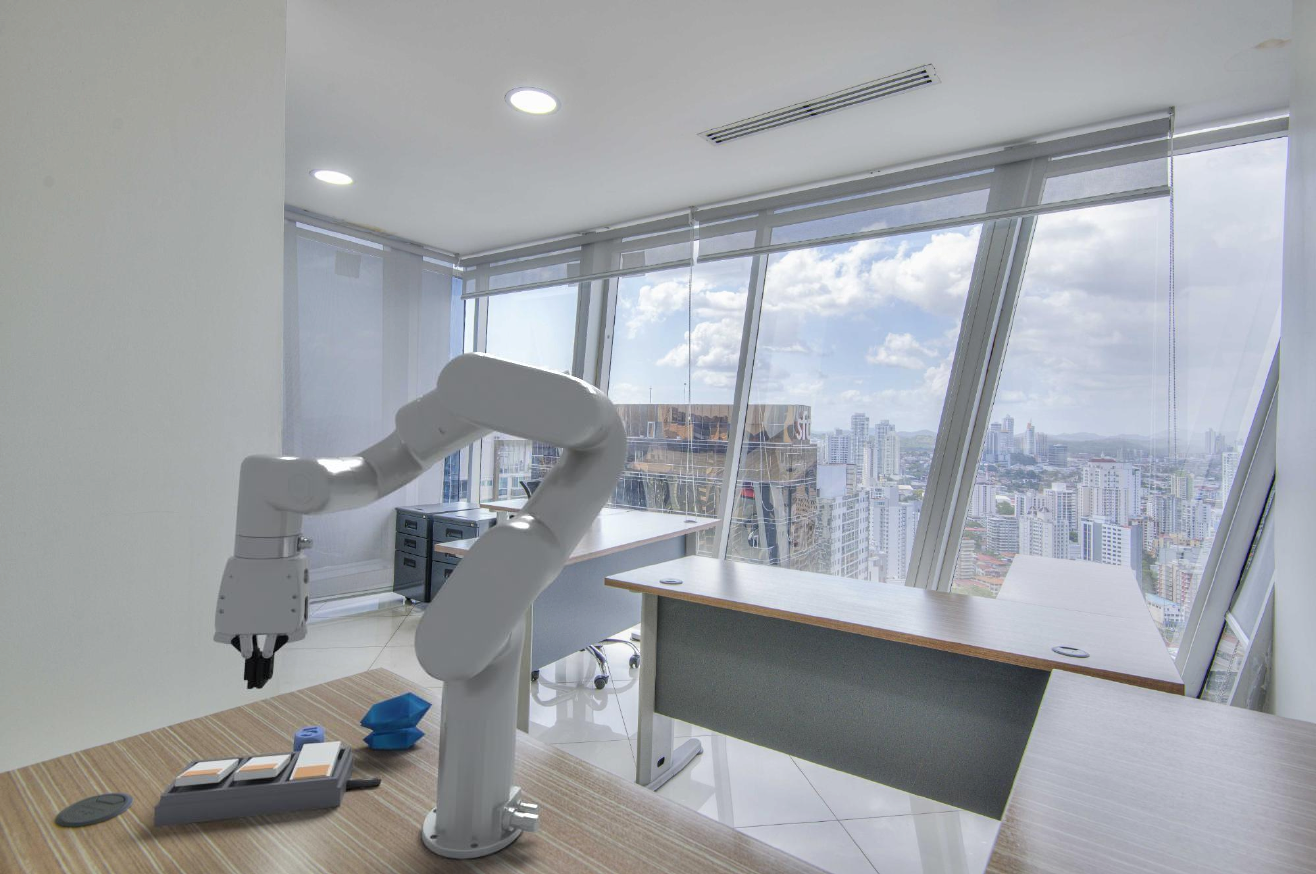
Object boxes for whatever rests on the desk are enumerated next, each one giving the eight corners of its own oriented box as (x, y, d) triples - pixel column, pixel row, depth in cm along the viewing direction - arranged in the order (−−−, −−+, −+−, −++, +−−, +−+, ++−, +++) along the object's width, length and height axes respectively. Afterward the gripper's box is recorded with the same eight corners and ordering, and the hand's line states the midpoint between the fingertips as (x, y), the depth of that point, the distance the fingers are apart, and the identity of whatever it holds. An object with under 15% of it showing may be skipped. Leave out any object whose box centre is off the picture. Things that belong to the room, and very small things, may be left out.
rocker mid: (289, 763, 88) (291, 753, 88) (275, 778, 81) (276, 767, 81) (251, 766, 86) (252, 756, 87) (233, 782, 80) (234, 771, 80)
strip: (385, 768, 92) (386, 743, 92) (376, 802, 84) (377, 774, 84) (186, 787, 85) (188, 760, 85) (153, 826, 76) (155, 796, 77)
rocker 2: (340, 748, 90) (340, 740, 89) (329, 783, 83) (329, 775, 83) (304, 751, 88) (303, 743, 88) (289, 787, 82) (289, 779, 82)
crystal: (360, 695, 102) (434, 677, 104) (370, 746, 102) (444, 727, 104) (345, 715, 94) (425, 695, 96) (356, 770, 94) (436, 749, 97)
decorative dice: (323, 749, 97) (324, 724, 97) (322, 761, 94) (324, 735, 94) (294, 754, 95) (295, 728, 95) (292, 766, 92) (293, 739, 92)
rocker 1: (237, 768, 86) (238, 757, 86) (218, 783, 79) (219, 772, 80) (197, 771, 85) (198, 761, 85) (174, 788, 78) (176, 776, 78)
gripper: (336, 543, 88) (326, 672, 87) (214, 541, 84) (204, 677, 83) (323, 553, 81) (313, 693, 80) (190, 551, 76) (178, 699, 76)
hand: (257, 684), depth 82 cm, fingers closed
